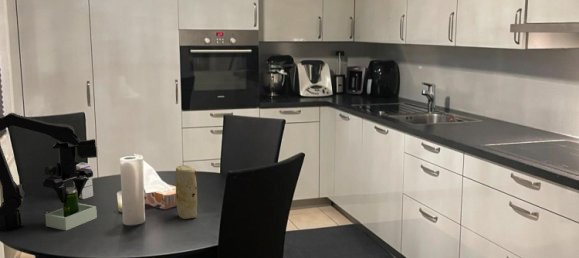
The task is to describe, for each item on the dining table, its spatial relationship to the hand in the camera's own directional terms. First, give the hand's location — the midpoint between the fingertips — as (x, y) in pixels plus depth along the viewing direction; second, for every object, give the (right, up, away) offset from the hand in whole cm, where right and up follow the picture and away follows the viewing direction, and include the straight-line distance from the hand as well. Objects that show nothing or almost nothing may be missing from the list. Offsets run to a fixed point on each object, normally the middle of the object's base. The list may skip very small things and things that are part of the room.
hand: (70, 200), depth 206 cm
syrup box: (-7, -3, +33) cm, 34 cm away
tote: (0, -8, +2) cm, 8 cm away
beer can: (0, -8, +1) cm, 8 cm away
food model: (+42, -8, +8) cm, 43 cm away
